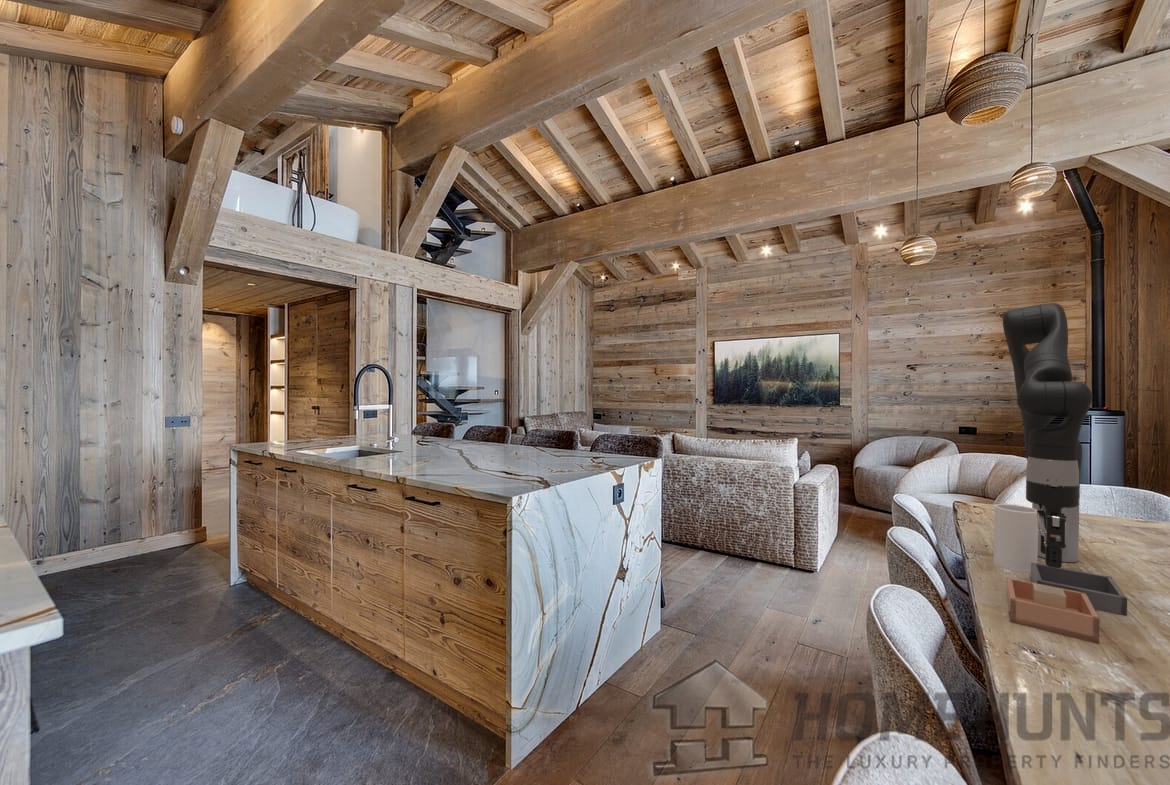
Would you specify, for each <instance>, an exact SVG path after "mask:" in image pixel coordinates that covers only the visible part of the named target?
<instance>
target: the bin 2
mask: <svg viewBox="0 0 1170 785" xmlns="http://www.w3.org/2000/svg"><path fill="white" fill-rule="evenodd" d="M1030 578H1031V582H1032V583H1037V584H1042V585H1047V586H1052V587H1057V588H1062V589H1067V590H1072V591H1077V592H1082V593H1086V595H1087V597H1088V599H1089V600H1090V602H1091V604H1092V606H1093V608H1094V610H1095V611H1096V610H1097V611H1101V612H1106V613H1111V614H1114V615H1115V614H1116V615H1120V616H1125V617H1128V597H1127V596H1126V595H1125V592H1123V591H1122V589H1121V588H1120V587H1119V586H1120V585H1118V584H1117V582H1116V581H1115V579H1113V577H1112V576H1108V575H1103V574H1096V573H1091V572H1085V571H1080V570H1074V569H1069V568H1064V567H1061V568H1055V567H1050V566H1047V565H1046V564H1041V563H1038V562H1037V563H1031V572H1030Z"/></svg>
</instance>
